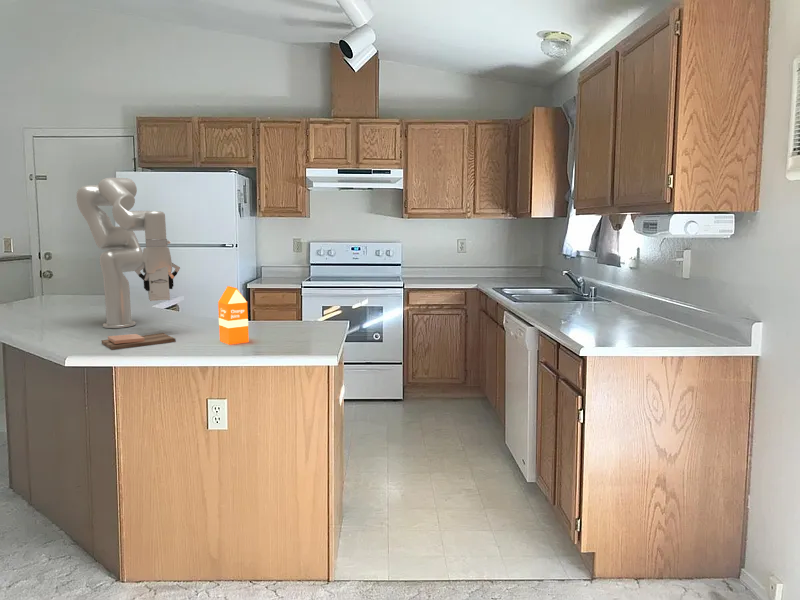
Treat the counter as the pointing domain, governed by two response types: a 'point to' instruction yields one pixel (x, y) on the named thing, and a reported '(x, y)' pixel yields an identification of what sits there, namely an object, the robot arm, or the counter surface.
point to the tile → (126, 338)
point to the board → (149, 340)
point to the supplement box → (159, 285)
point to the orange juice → (233, 317)
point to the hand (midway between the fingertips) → (159, 289)
